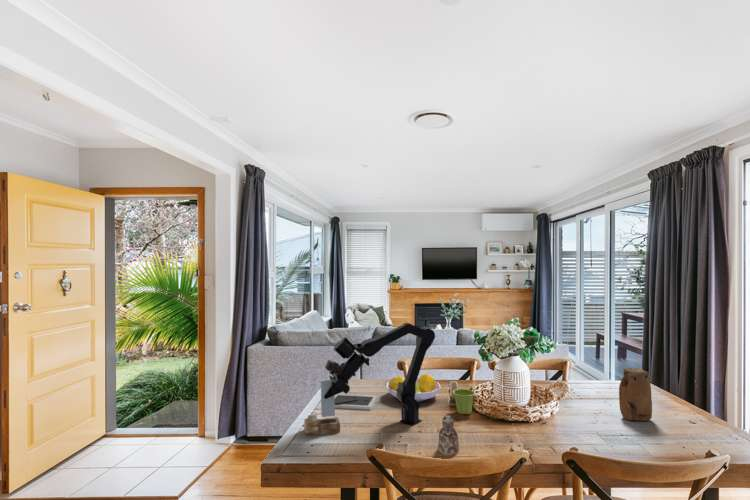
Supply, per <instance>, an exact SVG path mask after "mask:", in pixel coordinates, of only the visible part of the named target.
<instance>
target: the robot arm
mask: <svg viewBox="0 0 750 500" xmlns="http://www.w3.org/2000/svg"><path fill="white" fill-rule="evenodd" d="M409 334H410V335H412V336H415V349H414V352H413V354H412V355H413V356H412V358H411V361H410V364H409V367H408V370H407V373H406V376H405V377H404V378H405V380H404V381H403V382H402V383H401V382H399V384H398V388H397V390H396V391H397V397H398V398H397V399H398V400H399V402H401V404H402V405H401V412H400V413H401V419H400V420H399V422H400V423H403V424H405V425H409V426H414V425H416V424H418V423H420V422H422V420H421V419H420V418H419V417H420V415H419V413H420V412H419V409H420V406H421V403H420V402H417V401H416V400H415V393H416V387H415V384H416V381H417V378H419V374H420V372H421V369H422V365H423V362H424V359H425V356H426V354H427V351H428V350H429V348H430V347H431V346H432V345H433V343H434V340H435V339H436V333H435V332H434V330H433V329H431V328H429V327H428V326H421V327H420V326H416V325H414V324H412V323H410V322H404V323H402V324H401V325H399V326H397V327H395V328H393V329H391V330H390V331H387V332H385V333H383V334H381V335H380V336H377V337H371V338H368V339H364V340H362V341H361V342H359V343H355V344H353V343H352V342H351V341H350V340H349V339H348V337H346V336H344V337H343V338H341V339H340V340H339V341H337V343H336V344H335V345H334V347H333V351H334V352H336V354H338V355H339V356H340V357H341V358H342V359H343V360H345V359H346V361H345V362H342V363H339V362H336V361H333V360H331V359H328V360H327V362H326V364H325V366H324V368H325V370H326V371H328V372H329V374H330V375H329V379H334V381H333V380H332V385H331V387H330V388H329V390H328V391H327V393H326V394H325V396H324V398H325V399H327V398H329V397H332V396H334V395H336V394H342V393H343V394H347V395H348V393H349V391H350V390H351V389H350V385H349V383H350V382H349V381H350V379H352V377H355V376H357V374H356V373H357V372H358V371H359V370H360V368H362V366H363V365H364V364H365V365H366V366H368V367H369V366H370V357H373V356H375V355H376V354H377V353H378V352H380V350H382V349H383V348H384V347H385V346H388V345H389V344H391V343H393V342H395V341H397V340H399V339H401V338H403V337H405V336H406V335H409Z"/></svg>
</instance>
